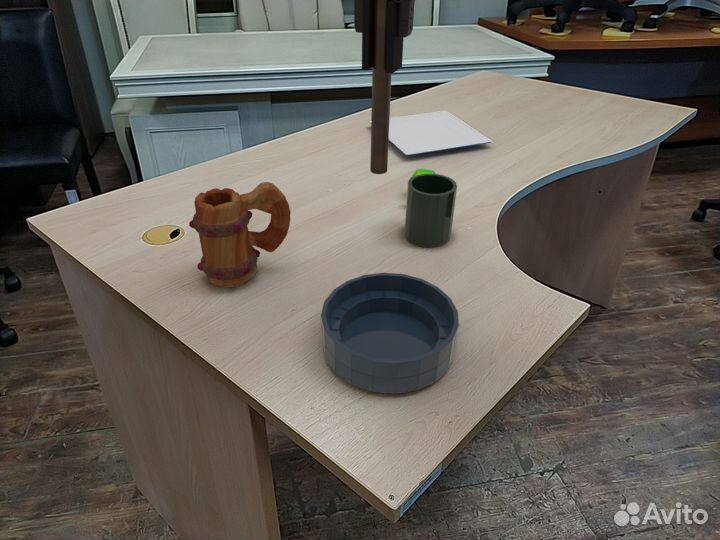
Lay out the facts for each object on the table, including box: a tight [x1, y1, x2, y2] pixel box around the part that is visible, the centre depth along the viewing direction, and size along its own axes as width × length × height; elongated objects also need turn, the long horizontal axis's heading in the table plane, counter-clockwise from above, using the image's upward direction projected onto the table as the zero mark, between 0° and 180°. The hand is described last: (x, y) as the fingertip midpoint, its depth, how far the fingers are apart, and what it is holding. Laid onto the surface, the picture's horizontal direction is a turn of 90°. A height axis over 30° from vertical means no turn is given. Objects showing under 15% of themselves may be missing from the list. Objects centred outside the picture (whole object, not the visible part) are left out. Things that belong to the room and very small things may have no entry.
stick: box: [369, 0, 392, 175], centre depth 55 cm, size 2×2×22 cm
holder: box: [404, 173, 458, 249], centre depth 90 cm, size 8×8×10 cm
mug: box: [188, 181, 291, 288], centre depth 79 cm, size 15×8×15 cm, turn 108°
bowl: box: [320, 272, 460, 395], centre depth 68 cm, size 17×17×6 cm
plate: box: [368, 110, 493, 157], centre depth 129 cm, size 22×22×2 cm
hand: (381, 67), depth 55 cm, fingers closed on stick, 2 cm apart
